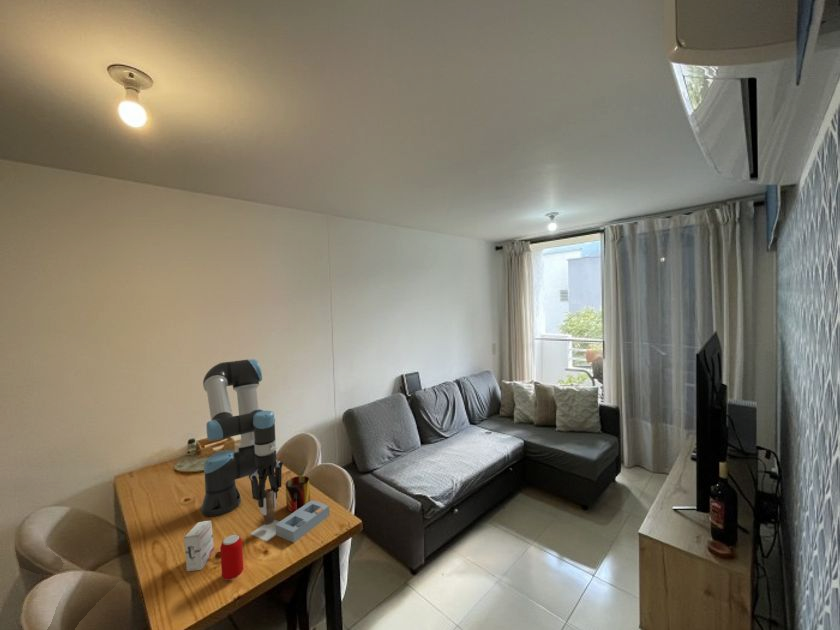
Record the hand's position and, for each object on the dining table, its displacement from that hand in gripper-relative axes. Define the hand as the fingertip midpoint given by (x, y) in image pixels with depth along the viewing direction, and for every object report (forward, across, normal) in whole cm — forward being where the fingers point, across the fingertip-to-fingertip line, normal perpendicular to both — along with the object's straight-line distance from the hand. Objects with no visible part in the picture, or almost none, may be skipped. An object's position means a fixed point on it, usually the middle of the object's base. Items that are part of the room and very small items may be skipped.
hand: (268, 510), depth 131 cm
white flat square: (+8, 0, -1) cm, 8 cm away
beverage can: (+8, -20, -9) cm, 23 cm away
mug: (+9, +15, 0) cm, 17 cm away
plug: (+4, 0, 0) cm, 4 cm away
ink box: (+8, -22, +8) cm, 24 cm away
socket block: (+8, +8, -11) cm, 15 cm away
